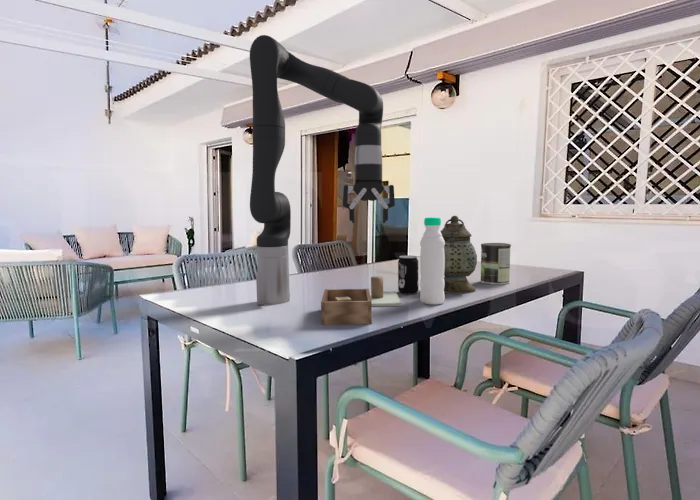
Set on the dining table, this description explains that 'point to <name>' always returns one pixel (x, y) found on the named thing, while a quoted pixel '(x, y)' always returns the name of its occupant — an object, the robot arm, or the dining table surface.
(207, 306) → the dining table surface
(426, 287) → the water bottle
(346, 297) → the maple cube
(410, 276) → the beverage can
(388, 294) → the lid
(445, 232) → the lantern
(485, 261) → the coffee can
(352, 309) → the box
